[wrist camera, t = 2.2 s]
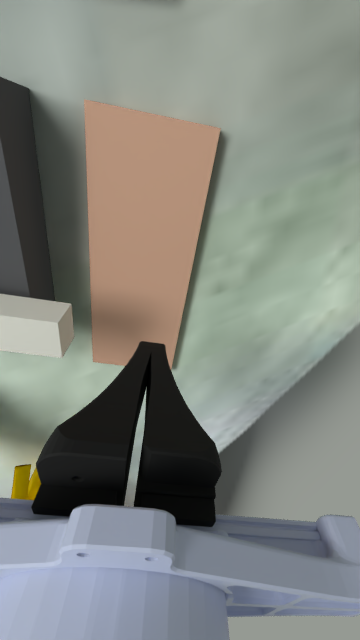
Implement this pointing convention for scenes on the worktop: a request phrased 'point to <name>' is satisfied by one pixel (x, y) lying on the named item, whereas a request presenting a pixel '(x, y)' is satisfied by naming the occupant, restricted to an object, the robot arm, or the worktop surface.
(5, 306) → the strap
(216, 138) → the mat
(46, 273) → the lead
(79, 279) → the worktop surface
